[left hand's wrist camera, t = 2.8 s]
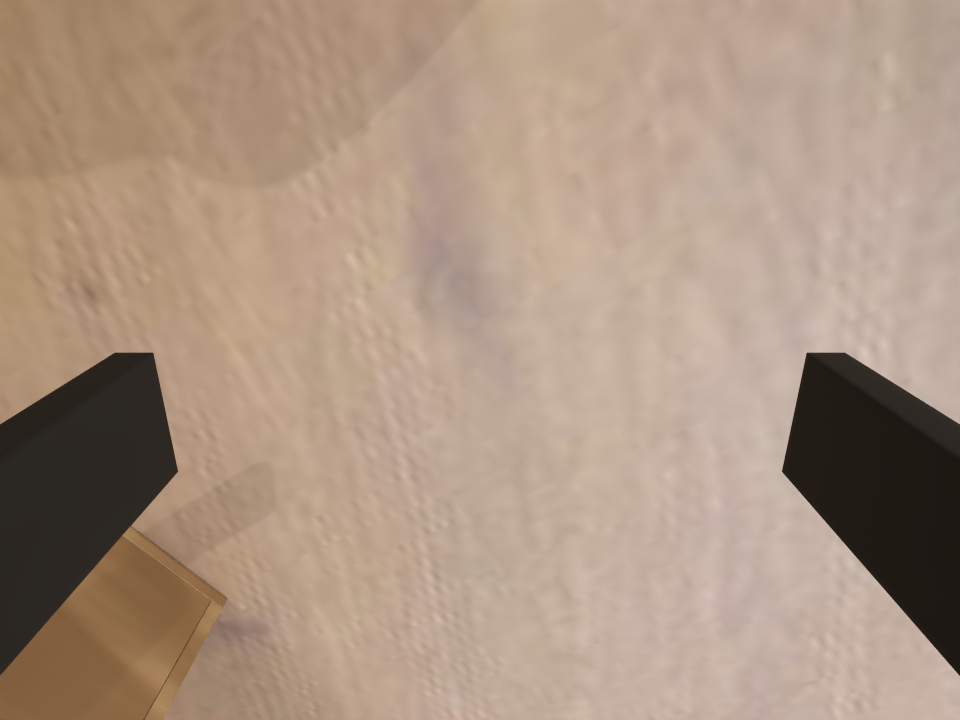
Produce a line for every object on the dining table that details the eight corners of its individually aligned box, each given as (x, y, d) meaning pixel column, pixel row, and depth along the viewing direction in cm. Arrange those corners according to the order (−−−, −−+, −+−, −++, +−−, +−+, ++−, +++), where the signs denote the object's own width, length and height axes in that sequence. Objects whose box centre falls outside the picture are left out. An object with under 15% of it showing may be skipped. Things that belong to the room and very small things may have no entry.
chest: (75, 726, 35) (-88, 968, 25) (-71, 636, 33) (-317, 863, 23) (227, 598, 32) (110, 817, 22) (77, 487, 30) (-134, 676, 19)
